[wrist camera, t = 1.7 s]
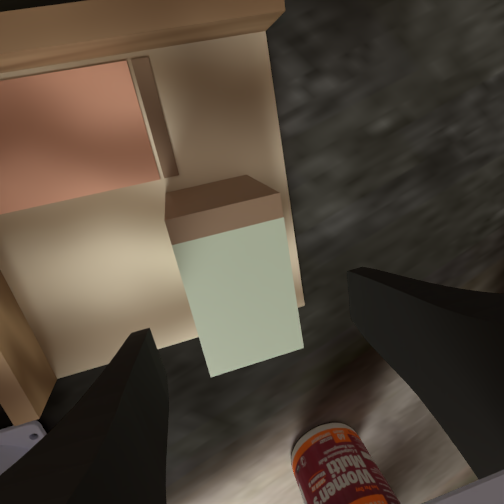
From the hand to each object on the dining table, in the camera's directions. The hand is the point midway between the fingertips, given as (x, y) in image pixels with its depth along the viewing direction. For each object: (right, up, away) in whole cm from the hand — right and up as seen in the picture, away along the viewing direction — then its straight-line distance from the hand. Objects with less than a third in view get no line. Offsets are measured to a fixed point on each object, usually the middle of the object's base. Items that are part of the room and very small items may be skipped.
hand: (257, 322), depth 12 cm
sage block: (-2, +3, +8) cm, 8 cm away
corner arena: (-6, +5, +6) cm, 10 cm away
